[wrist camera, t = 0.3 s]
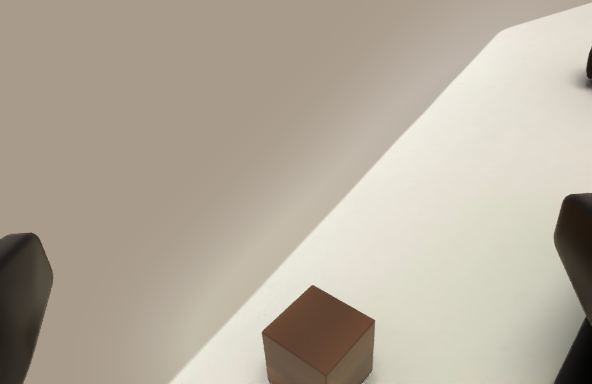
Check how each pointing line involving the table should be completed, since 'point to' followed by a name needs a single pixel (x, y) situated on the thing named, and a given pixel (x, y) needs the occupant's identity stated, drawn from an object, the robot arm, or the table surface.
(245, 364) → the table surface
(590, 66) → the film camera
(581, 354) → the laptop
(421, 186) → the table surface
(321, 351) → the block
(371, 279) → the table surface
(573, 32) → the table surface
